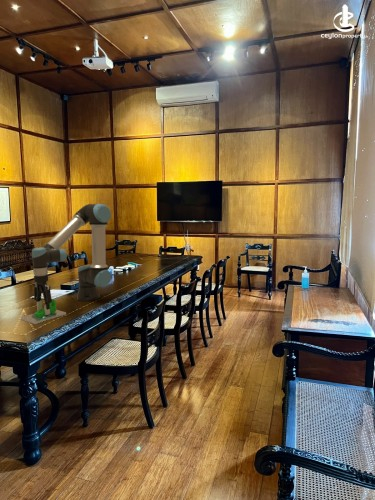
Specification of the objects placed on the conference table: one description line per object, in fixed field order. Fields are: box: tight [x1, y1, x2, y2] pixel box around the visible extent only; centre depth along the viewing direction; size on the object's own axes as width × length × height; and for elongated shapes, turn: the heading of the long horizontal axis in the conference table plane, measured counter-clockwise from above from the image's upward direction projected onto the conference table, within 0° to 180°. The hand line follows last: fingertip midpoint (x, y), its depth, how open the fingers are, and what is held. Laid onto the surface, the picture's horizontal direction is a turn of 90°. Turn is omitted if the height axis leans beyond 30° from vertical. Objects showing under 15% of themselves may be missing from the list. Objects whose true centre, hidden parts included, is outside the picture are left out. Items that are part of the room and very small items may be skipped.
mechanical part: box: [34, 298, 57, 317], centre depth 204 cm, size 12×6×8 cm, turn 157°
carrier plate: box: [20, 309, 67, 325], centre depth 204 cm, size 20×14×1 cm
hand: (43, 313), depth 203 cm, fingers closed on mechanical part, 7 cm apart
